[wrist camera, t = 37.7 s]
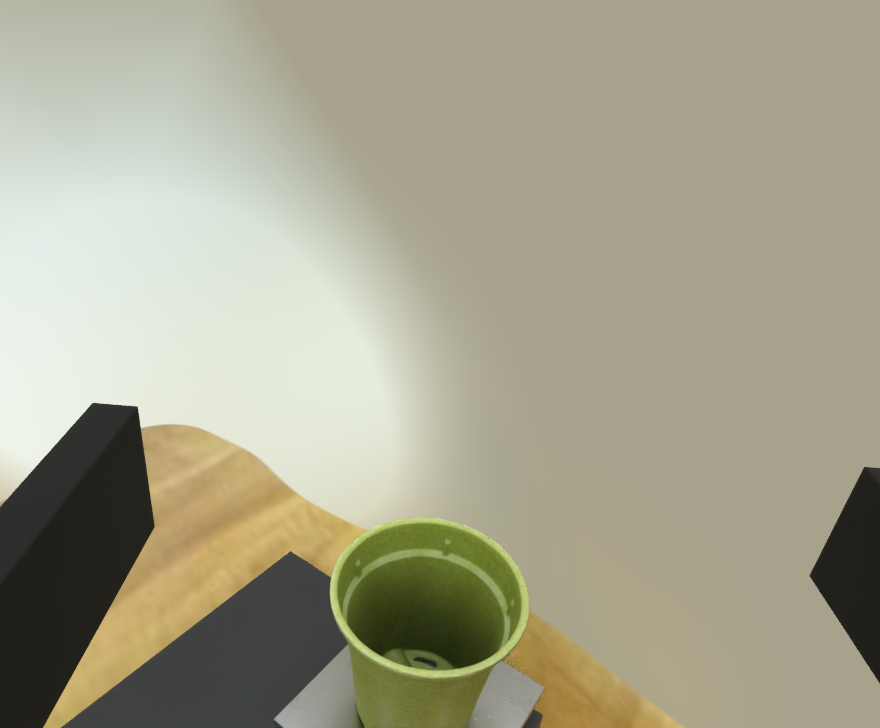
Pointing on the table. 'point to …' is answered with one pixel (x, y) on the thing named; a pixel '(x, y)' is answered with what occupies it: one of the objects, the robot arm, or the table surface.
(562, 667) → the table surface
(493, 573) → the plant pot
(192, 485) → the table surface
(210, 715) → the scale
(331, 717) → the plate
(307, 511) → the table surface
